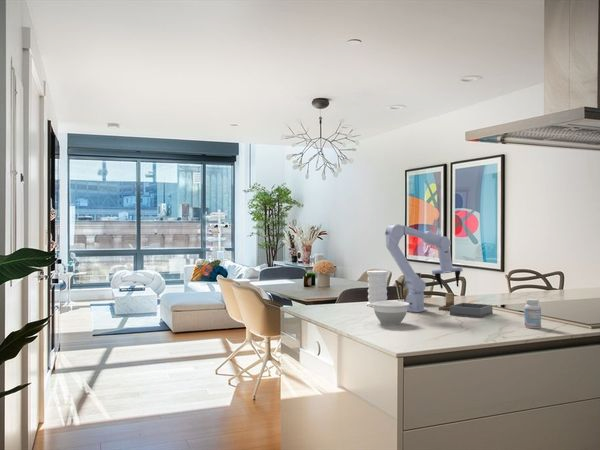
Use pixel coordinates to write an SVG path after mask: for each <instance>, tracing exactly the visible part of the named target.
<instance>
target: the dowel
mask: <svg viewBox="0 0 600 450" xmlns="http://www.w3.org/2000/svg"><path fill="white" fill-rule="evenodd" d="M445 305H446V307H450V306H452V305H455V293H453V292H446V293H445Z"/></svg>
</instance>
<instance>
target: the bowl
mask: <svg viewBox="0 0 600 450" xmlns="http://www.w3.org/2000/svg"><path fill="white" fill-rule="evenodd" d="M372 305H373V306H374V307H373V311H374V315H375V316H376V318H377V319H378V320H379V322H380V324H381V325H384V326H399V325H401V324H402V322H403V320H404V319H405V318H406V315H407V312H408V311H407V306H408V305H409V303H407V302H404V301H401V300H398V301H397V300H387V301H379V302H373V303H372Z"/></svg>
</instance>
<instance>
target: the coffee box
mask: <svg viewBox="0 0 600 450" xmlns="http://www.w3.org/2000/svg"><path fill="white" fill-rule="evenodd" d="M415 273H416V274H417V275H418V276H419V278H420V279H421V280H422V273H421V272H415ZM402 275H403V302H406V296H407V295H408V294H409V289H408V287H407V282H406V280H405V276H404V274H403V273H402Z"/></svg>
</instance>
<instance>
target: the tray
mask: <svg viewBox="0 0 600 450" xmlns="http://www.w3.org/2000/svg"><path fill="white" fill-rule="evenodd" d="M493 313H494V312H493V304H485V303H471V302H460V303H456V304H454V305H452V306H450V311H449V316H459V317H468V318H469V317H470V318H479V319H480V318H484V317H486V316H489V315H493Z"/></svg>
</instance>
